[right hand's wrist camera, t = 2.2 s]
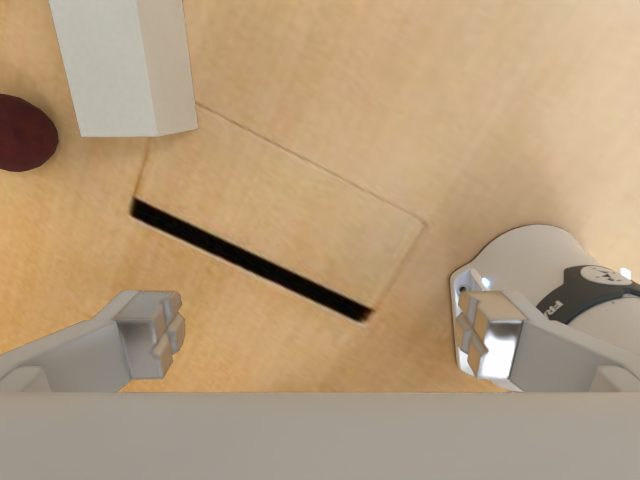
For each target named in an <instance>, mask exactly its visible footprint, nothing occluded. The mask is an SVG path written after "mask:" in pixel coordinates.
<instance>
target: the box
mask: <svg viewBox="0 0 640 480" xmlns="http://www.w3.org/2000/svg"><path fill="white" fill-rule="evenodd" d="M48 1H49V5H50V9H51V13H52V17H53V22H54V26H55V30H56V34H57V38H58V43H59V47H60V51H61V55H62V59H63V63H64V68H65V72H66V76H67V80H68V84H69V88H70V93H71V97H72V101H73V105H74V109H75V114H76V118H77V122H78V126H79V130H80V134H81V137H159V136H164V135H169V134H174V133H179V132H184V131H190V130H195V129H198V123H197V115H196V107H195V99H194V91H193V83H192V75H191V67H190V59H189V51H188V43H187V34H186V26H185V18H184V10H183V2H182V0H48Z"/></svg>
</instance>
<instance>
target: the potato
mask: <svg viewBox="0 0 640 480" xmlns="http://www.w3.org/2000/svg"><path fill="white" fill-rule="evenodd" d="M57 144H58V133H57V130H56V128H55V126H54V124H53V122H52V121H51V120H50V119H49V118H48V117H47V115H46V114H45V113H43V112H42V111H41V110H40V109H38V108H37V107H35V106H33V105H32V104H30V103H29V102H27V101H25V100H23V99H21V98H19V97H14V96H10V95H5V94H0V169H3V170H7V171H12V172H22V171H28V170H31V169H34V168H37V167H39V166H41V165H42V164H44V163H45V162H46V161H47V160H48V159H49V158H50V157H51V156H52V155H53V154H54V152H55V150H56V147H57Z"/></svg>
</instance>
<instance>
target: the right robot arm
mask: <svg viewBox="0 0 640 480" xmlns="http://www.w3.org/2000/svg"><path fill="white" fill-rule="evenodd" d="M461 287H464V288H463V289H462V290H459V289H460V288H461ZM450 288H451V300H452V313H453V325H454V337H455V349H456V361H457V365H458V367H459V368H460V370H461V371H463V372H465V373H467V374H469V375H471V376H474V377H476V378H477V379H487V380H489V381H490V382H492V383H493V384H495V385H496V386H498V387H500V388H503V389H506V390H510V391H516V392H117V391H118V390H120V389H121V388H122V387H124V386H125V385H126V384H128V383H129V382H130V381H131V380H135V379H163V378H164V376H165V375H166V373H167V371H168V369H169V368H170V366H171V364H172V362H173V358H172V355H173V354H175V353H176V352H178V351H179V350H180V348H181V346H182V344H183V341H184V337H185V320H184V317H183V316H182V315H181V314H180V313H179V312H178V310H179V309H180V307H181V306H182V302H181V297H180V294H179V293H178V292H177V291H148V290H143V291H142V290H126V291H121V292H120V293H119V294H118V295H117V296H116V297H115V298H114V299H113V300H112V301H111V302H109V303H108V304H107V305H106V306H105V307H104V308H103V309H102V310H101V311H100V312H99V313H98V314H97V315H95V316H94V317H93V318H92V319H91V320H88V321H82V322H79V323H77V324H75V325H72V326H70V327H67V328H65V329H62V330H60V331H57V332H55V333H53V334H50V335H48V336H45V337H43V338H40V339H38V340H36V341H33V342H31V343H28V344H26V345H23V346H21V347H18V348H16V349H14V350H11V351H9V352H6V353H4V354H1V355H0V480H640V285H639V284H637V283H635V282H634V281H632V280H630V271H629V270H627V269H625V268H623V269H621V274H619V273H617V272H614V271H612V270H610V269H608V268H605V267H603V266H602V265H601V264H600V263H598V262H597V261H596V260H595V259H594V258H592V257H591V256H590V255H589V254H588V253H587V252H586V251H585V249H584V248H583V247H582V246H581V245H580V243H579V242H578V241H577V240H576V238H575V237H574V236H572V235H571V234H570V233H568V232H567V231H565V230H563V229H561V228H558V227H555V226H550V225H540V224H538V225H528V226H523V227H519V228H516V229H513V230H511V231H508V232H506V233H504V234H502V235H501V236H499V237H498V238H496V239H495V240H493V241H492V242H491V243H490V244H488V245H487V246H486V247H485V248H484V249H483V250H482V252H481V253H480V254H479V255H478V256H477V257H476V258H475V259H474V260H473V261H472V262H470V263H468V264H467V265H465V266H463V267H461V268H459V269H458V270H456V271H455V272H454V273H453V274H452V275H451V277H450Z"/></svg>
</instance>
